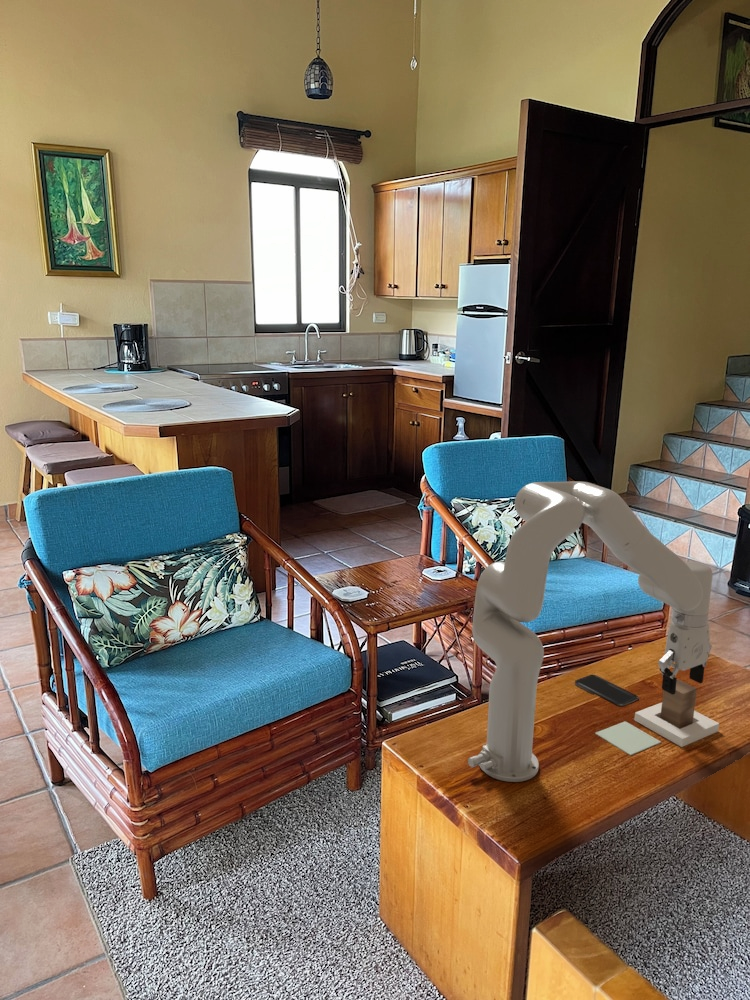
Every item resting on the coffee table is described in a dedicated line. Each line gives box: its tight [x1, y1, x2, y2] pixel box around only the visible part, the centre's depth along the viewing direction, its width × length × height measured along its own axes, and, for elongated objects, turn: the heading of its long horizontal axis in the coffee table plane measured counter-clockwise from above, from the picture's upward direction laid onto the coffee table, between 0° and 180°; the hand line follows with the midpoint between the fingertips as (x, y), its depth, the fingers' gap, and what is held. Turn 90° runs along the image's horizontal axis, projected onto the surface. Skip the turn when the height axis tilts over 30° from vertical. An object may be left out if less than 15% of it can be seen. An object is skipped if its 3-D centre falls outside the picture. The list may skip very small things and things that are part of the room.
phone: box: [574, 674, 640, 707], centre depth 188 cm, size 8×1×15 cm
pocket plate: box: [633, 702, 720, 748], centre depth 172 cm, size 13×13×2 cm
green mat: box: [594, 720, 662, 756], centre depth 166 cm, size 10×10×1 cm
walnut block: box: [660, 679, 698, 729], centre depth 171 cm, size 5×5×10 cm
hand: (682, 686), depth 170 cm, fingers open, 9 cm apart
